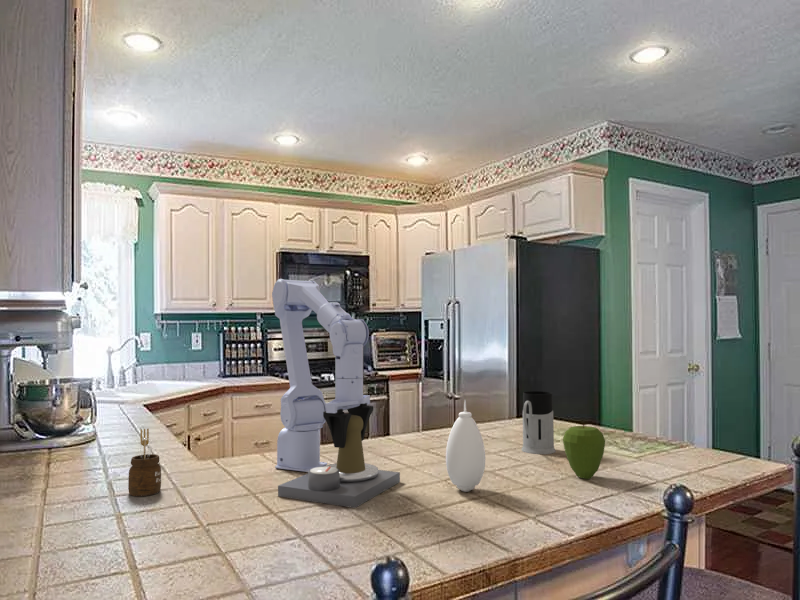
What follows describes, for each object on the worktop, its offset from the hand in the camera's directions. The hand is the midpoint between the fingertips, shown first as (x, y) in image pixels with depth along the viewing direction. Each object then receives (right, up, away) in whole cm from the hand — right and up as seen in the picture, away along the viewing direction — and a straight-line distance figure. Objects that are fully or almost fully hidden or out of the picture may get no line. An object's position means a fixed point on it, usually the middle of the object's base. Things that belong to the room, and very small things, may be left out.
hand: (349, 443), depth 120 cm
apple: (+50, -9, +5) cm, 51 cm away
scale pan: (0, -6, 0) cm, 6 cm away
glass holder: (+45, -10, +30) cm, 55 cm away
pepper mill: (0, -5, 0) cm, 5 cm away
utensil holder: (-40, -9, -5) cm, 41 cm away
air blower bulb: (+24, -8, -4) cm, 25 cm away
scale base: (-1, -8, -3) cm, 9 cm away
